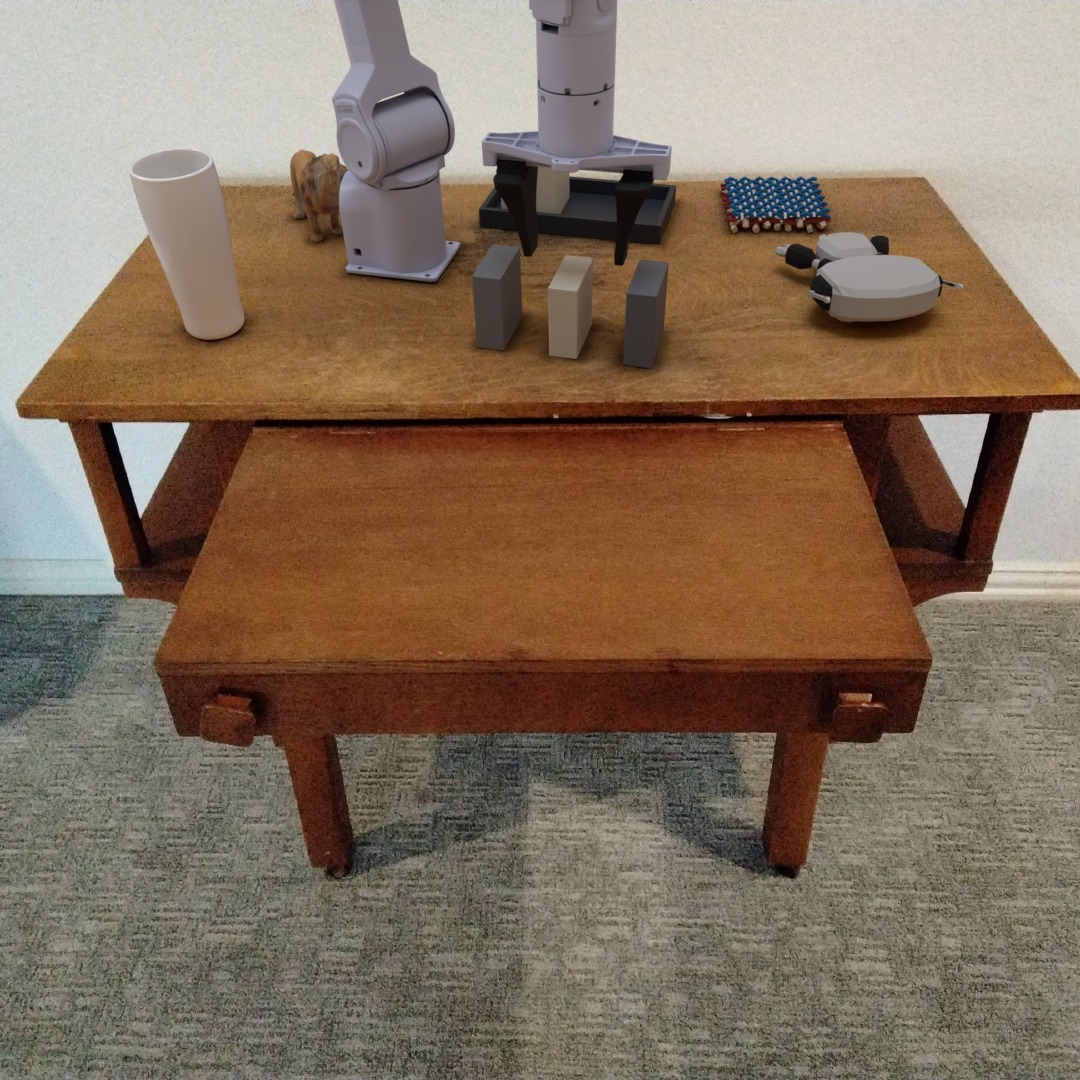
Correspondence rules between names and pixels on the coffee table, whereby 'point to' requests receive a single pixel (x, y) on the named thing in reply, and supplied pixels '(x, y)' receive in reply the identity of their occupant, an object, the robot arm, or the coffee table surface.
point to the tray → (591, 212)
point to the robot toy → (865, 278)
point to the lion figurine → (317, 188)
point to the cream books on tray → (550, 191)
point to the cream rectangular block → (570, 306)
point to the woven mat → (774, 203)
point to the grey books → (503, 304)
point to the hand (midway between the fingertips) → (575, 255)
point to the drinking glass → (191, 237)
